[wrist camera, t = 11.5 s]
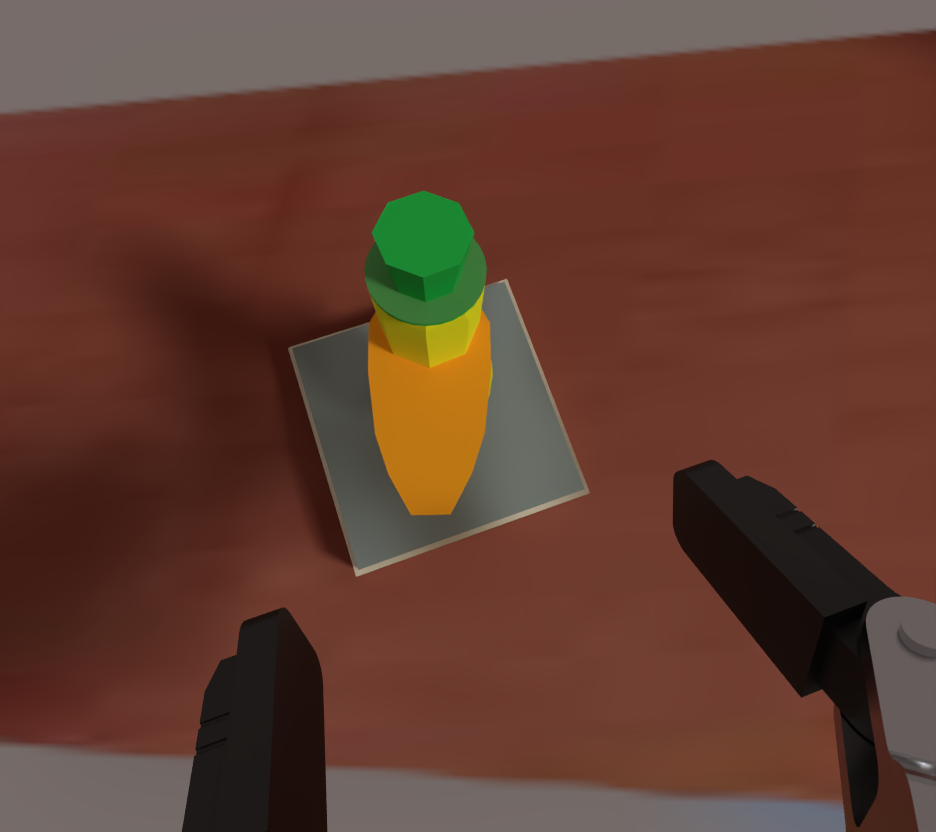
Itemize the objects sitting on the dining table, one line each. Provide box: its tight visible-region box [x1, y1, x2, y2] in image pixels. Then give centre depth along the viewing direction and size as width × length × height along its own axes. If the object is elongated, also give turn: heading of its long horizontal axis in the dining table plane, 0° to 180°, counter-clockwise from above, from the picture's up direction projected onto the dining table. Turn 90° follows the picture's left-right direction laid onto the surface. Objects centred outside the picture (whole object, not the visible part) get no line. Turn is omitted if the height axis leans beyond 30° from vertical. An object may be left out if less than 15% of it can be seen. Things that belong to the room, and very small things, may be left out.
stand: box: [288, 279, 590, 577], centre depth 21 cm, size 9×9×2 cm
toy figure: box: [365, 191, 493, 515], centre depth 14 cm, size 7×4×12 cm, turn 1°
